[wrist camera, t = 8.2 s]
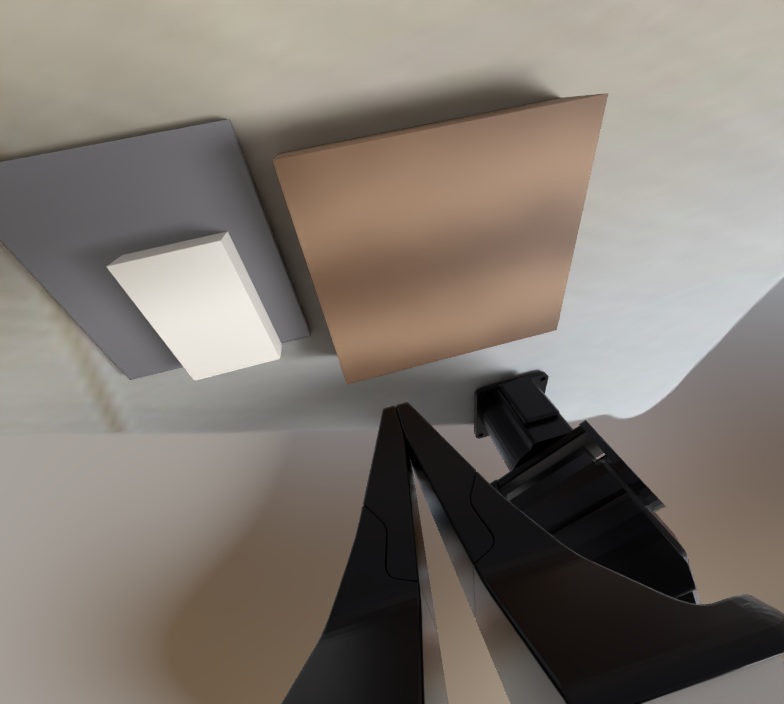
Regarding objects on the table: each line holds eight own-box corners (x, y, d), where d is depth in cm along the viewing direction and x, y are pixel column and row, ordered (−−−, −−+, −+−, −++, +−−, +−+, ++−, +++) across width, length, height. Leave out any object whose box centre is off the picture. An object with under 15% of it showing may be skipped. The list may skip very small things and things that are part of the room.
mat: (310, 331, 20) (310, 335, 19) (133, 374, 19) (129, 379, 19) (229, 119, 13) (227, 119, 13) (-51, 171, 12) (-63, 173, 12)
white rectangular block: (194, 380, 18) (201, 364, 19) (280, 358, 18) (281, 344, 19) (106, 266, 14) (122, 255, 15) (221, 240, 14) (227, 231, 15)
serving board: (530, 308, 23) (556, 329, 20) (342, 355, 22) (347, 384, 19) (561, 97, 15) (608, 93, 13) (278, 153, 14) (272, 160, 12)
